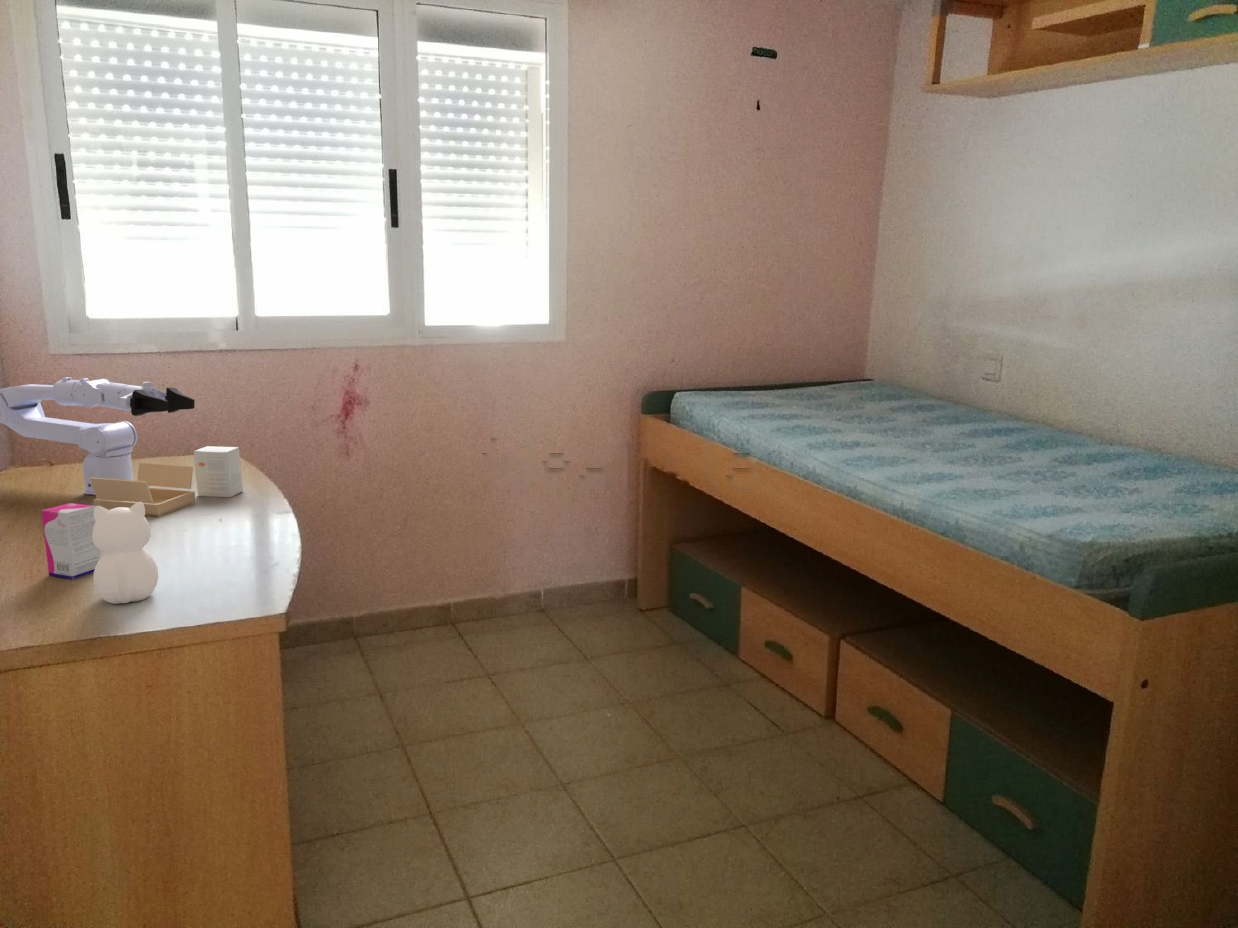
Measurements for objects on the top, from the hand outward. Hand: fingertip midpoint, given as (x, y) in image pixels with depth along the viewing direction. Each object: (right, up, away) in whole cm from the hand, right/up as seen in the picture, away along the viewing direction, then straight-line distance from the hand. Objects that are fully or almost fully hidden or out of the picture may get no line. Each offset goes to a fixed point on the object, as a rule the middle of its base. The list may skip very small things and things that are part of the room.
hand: (180, 405), depth 195 cm
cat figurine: (+17, -34, -52) cm, 65 cm away
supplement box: (+2, -31, -41) cm, 52 cm away
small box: (+4, -20, +10) cm, 23 cm away
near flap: (-8, -18, -9) cm, 21 cm away
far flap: (-5, -15, +3) cm, 17 cm away
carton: (-7, -22, -1) cm, 23 cm away
